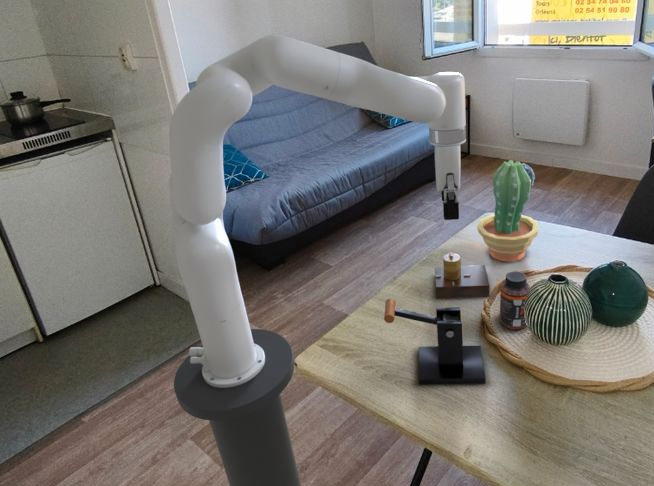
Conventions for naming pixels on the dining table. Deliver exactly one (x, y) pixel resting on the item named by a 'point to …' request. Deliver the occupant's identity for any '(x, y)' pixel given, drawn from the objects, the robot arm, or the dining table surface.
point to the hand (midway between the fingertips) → (450, 209)
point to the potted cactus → (509, 213)
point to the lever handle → (412, 315)
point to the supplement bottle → (513, 300)
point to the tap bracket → (450, 355)
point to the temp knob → (452, 266)
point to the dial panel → (463, 283)
